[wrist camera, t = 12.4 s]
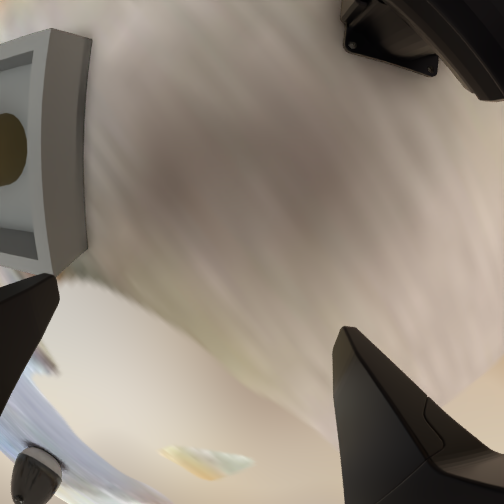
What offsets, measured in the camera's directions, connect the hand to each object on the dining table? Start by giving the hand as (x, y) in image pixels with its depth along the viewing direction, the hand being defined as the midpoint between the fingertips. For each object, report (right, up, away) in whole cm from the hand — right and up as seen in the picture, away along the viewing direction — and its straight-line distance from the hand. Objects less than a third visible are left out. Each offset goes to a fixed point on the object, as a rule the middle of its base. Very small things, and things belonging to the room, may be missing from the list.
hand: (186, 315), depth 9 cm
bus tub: (-18, +10, +11) cm, 23 cm away
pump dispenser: (-40, -39, +35) cm, 65 cm away
